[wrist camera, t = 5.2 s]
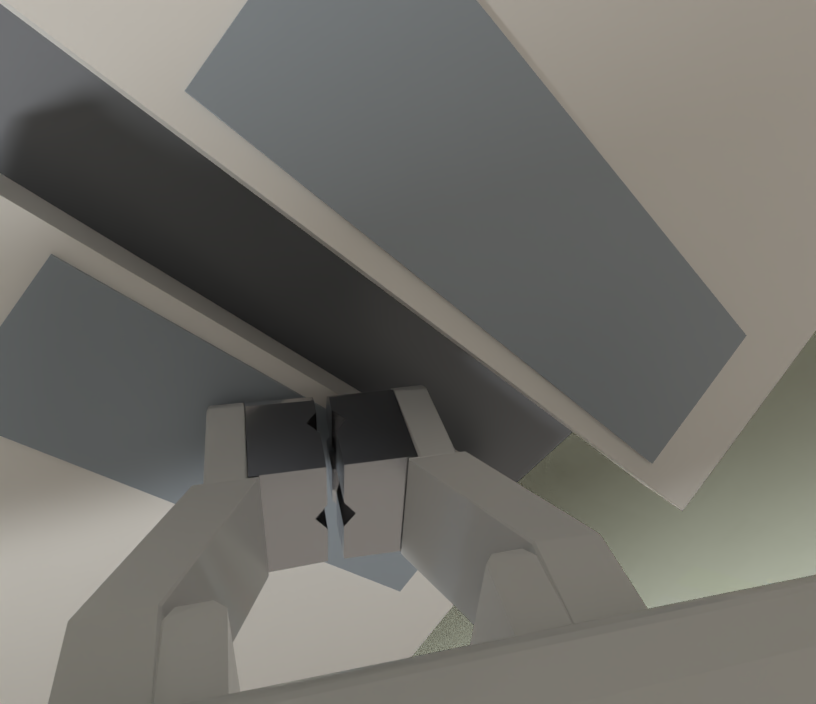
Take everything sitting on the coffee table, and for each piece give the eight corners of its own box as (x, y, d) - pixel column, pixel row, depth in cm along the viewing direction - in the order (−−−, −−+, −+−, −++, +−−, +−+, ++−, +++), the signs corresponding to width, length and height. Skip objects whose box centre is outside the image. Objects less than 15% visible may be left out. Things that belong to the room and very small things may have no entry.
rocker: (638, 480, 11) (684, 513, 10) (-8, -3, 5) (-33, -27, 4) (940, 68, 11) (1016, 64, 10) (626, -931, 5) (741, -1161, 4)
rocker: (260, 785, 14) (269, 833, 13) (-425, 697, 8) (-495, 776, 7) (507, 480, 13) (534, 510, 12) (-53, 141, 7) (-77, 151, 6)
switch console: (248, 550, 22) (260, 774, 16) (-211, 381, 15) (-496, 669, 9) (779, 9, 16) (1106, 43, 10) (450, -684, 9) (886, -1863, 3)
